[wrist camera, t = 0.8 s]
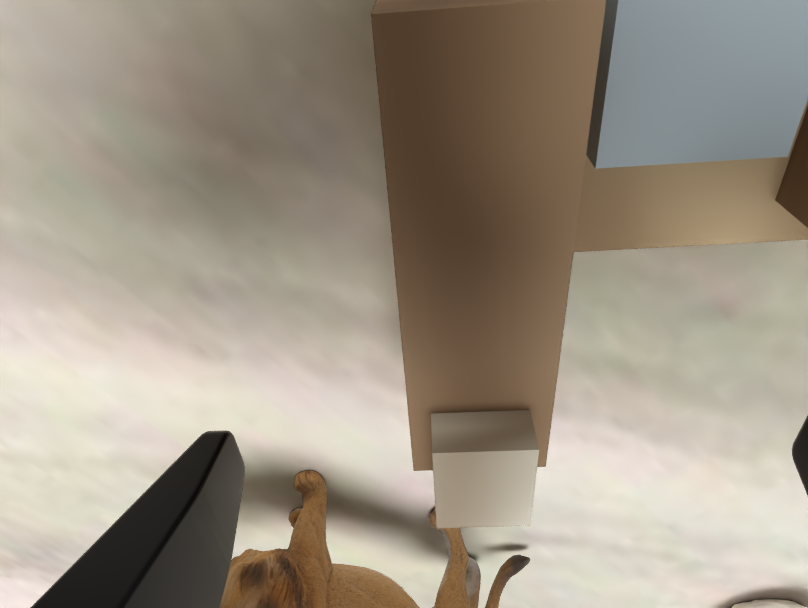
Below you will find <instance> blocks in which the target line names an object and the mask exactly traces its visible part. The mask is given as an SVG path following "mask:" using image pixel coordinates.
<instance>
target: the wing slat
mask: <svg viewBox="0 0 808 608" xmlns="http://www.w3.org/2000/svg"><path fill="white" fill-rule="evenodd" d="M807 100H808V0H606V6H605V14H604V21H603V29H602V37H601V44H600V52H599V60H598V67H597V75H596V83H595V91H594V98H593V106H592V114H591V121H590V129H589V137H588V144H587V152H586V155H587V157H588V158H589V160H590V161H591V163H592V164H593V166H594V167H595V169H597V168H613V167H629V166H645V165H661V164H678V163H694V162H710V161H726V160H742V159H758V158H774V157H788V155H789V152H790V149H791V146H792V143H793V140H794V137H795V135H796V132H797V129H798V126H799V123H800V120H801V117H802V114H803V112H804V109H805V106H806V103H807Z"/></svg>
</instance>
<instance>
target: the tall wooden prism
mask: <svg viewBox="0 0 808 608" xmlns="http://www.w3.org/2000/svg"><path fill="white" fill-rule="evenodd" d="M605 6H606V0H376V2H375V5H374V8H373V11H372V13H371V17H372V28H373V39H374V49H375V60H376V71H377V82H378V92H379V103H380V114H381V125H382V135H383V146H384V157H385V168H386V178H387V189H388V200H389V211H390V221H391V232H392V243H393V254H394V264H395V275H396V286H397V297H398V307H399V318H400V329H401V340H402V350H403V361H404V372H405V382H406V393H407V404H408V415H409V425H410V436H411V447H412V458H413V468H414V471H422V470H433V474H434V491H435V507H436V524H437V528H461V527H499V526H530V524H531V515H532V507H533V498H534V490H535V481H536V472H537V467H546V459H547V451H548V444H549V436H550V428H551V421H552V413H553V405H554V398H555V390H556V382H557V375H558V367H559V359H560V352H561V344H562V336H563V329H564V321H565V313H566V306H567V298H568V290H569V282H570V275H571V267H572V259H573V252H574V244H575V236H576V229H577V221H578V213H579V206H580V198H581V190H582V183H583V175H584V167H585V160H586V152H587V144H588V137H589V129H590V121H591V114H592V106H593V98H594V91H595V83H596V75H597V67H598V60H599V52H600V44H601V37H602V29H603V21H604V14H605Z"/></svg>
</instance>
